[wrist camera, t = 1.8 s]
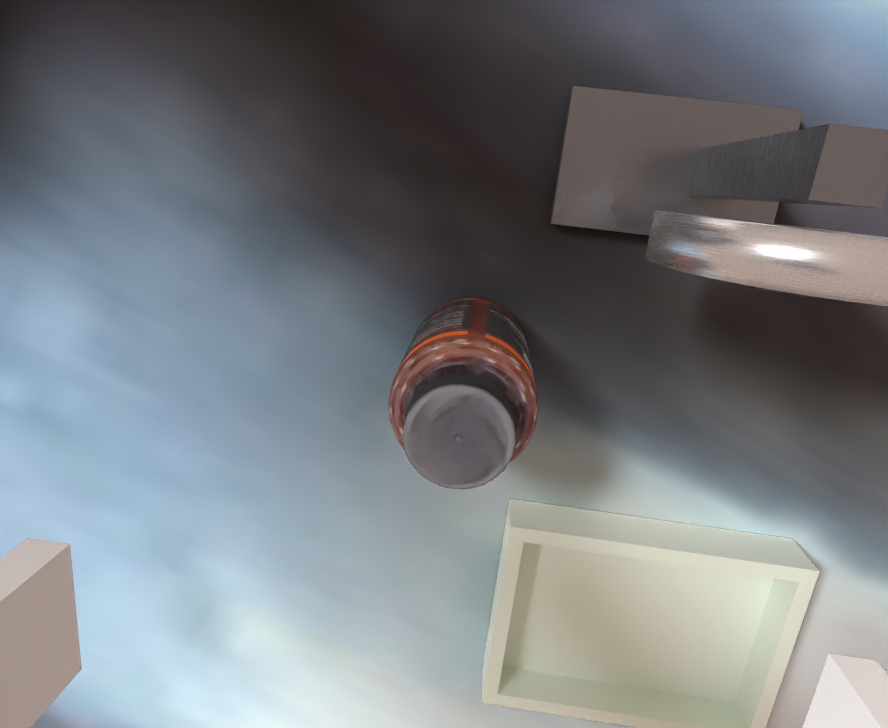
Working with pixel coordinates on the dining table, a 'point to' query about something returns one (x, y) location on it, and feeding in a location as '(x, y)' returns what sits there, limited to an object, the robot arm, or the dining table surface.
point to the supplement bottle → (464, 394)
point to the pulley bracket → (725, 189)
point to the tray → (642, 619)
